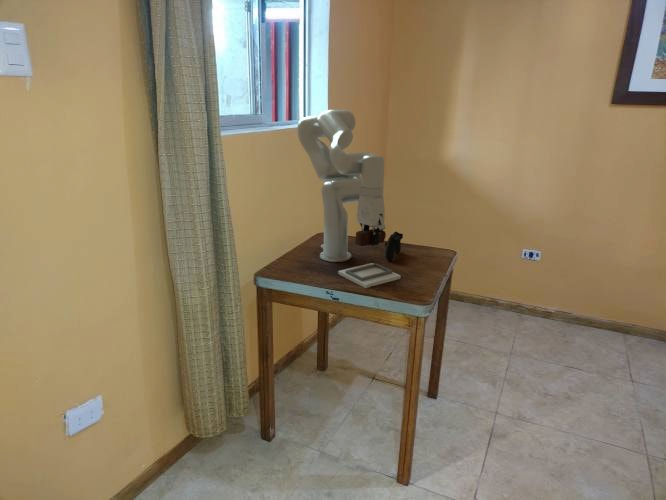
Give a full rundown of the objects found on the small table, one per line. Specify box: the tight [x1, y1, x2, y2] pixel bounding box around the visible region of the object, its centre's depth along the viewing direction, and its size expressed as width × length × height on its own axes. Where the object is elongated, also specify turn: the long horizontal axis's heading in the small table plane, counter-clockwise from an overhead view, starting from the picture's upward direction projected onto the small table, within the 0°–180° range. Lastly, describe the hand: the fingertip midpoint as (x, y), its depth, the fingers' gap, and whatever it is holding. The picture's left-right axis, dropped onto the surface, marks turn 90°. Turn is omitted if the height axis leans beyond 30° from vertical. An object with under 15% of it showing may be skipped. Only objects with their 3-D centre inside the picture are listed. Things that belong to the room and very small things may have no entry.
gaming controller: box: [384, 231, 404, 262], centre depth 186 cm, size 14×6×10 cm, turn 157°
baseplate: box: [337, 262, 401, 289], centre depth 165 cm, size 16×16×2 cm
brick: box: [355, 228, 387, 247], centre depth 161 cm, size 11×4×5 cm, turn 124°
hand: (370, 242), depth 162 cm, fingers closed on brick, 4 cm apart
